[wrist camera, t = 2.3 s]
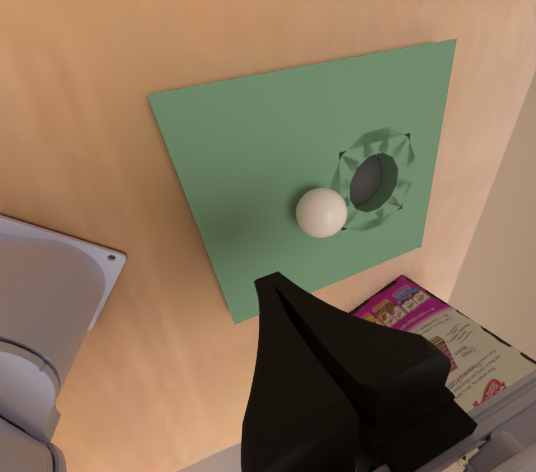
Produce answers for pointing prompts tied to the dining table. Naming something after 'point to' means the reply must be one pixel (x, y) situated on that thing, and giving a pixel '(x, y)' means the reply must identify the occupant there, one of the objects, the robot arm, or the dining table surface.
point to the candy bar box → (450, 343)
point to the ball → (321, 212)
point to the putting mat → (309, 164)
